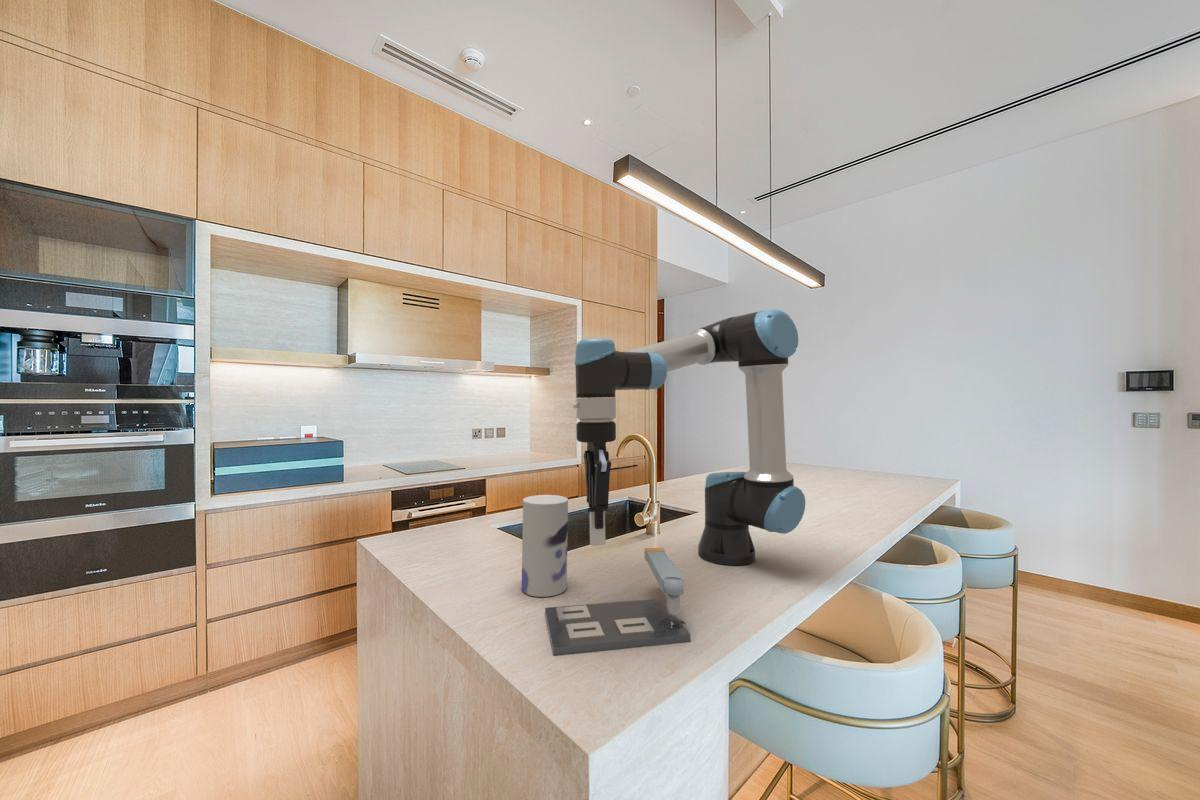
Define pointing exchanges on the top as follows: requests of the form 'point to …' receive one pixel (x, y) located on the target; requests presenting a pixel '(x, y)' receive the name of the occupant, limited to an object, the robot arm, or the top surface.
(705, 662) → the top surface
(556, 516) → the container
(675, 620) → the post
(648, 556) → the grey long bar
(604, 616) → the slotted grey board
